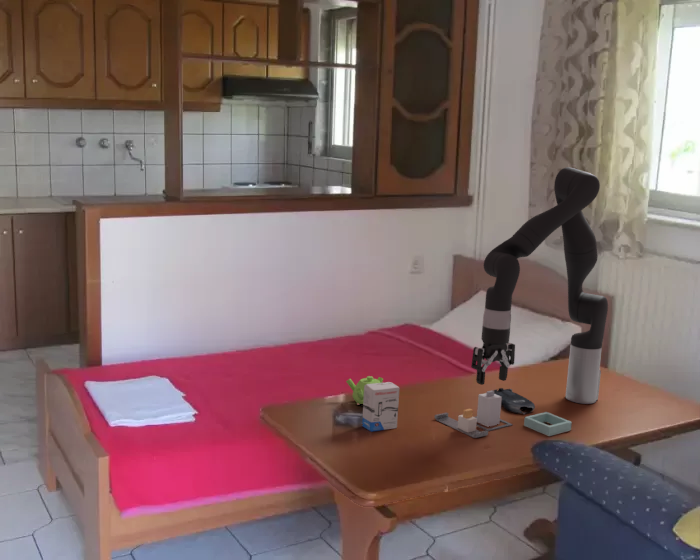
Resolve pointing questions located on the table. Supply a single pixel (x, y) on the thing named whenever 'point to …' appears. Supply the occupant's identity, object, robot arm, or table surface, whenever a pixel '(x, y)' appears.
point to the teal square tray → (538, 424)
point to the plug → (489, 409)
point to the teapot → (362, 387)
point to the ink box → (380, 406)
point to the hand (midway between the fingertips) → (491, 381)
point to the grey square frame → (495, 427)
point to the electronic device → (513, 401)
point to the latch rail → (454, 424)
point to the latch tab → (467, 421)
